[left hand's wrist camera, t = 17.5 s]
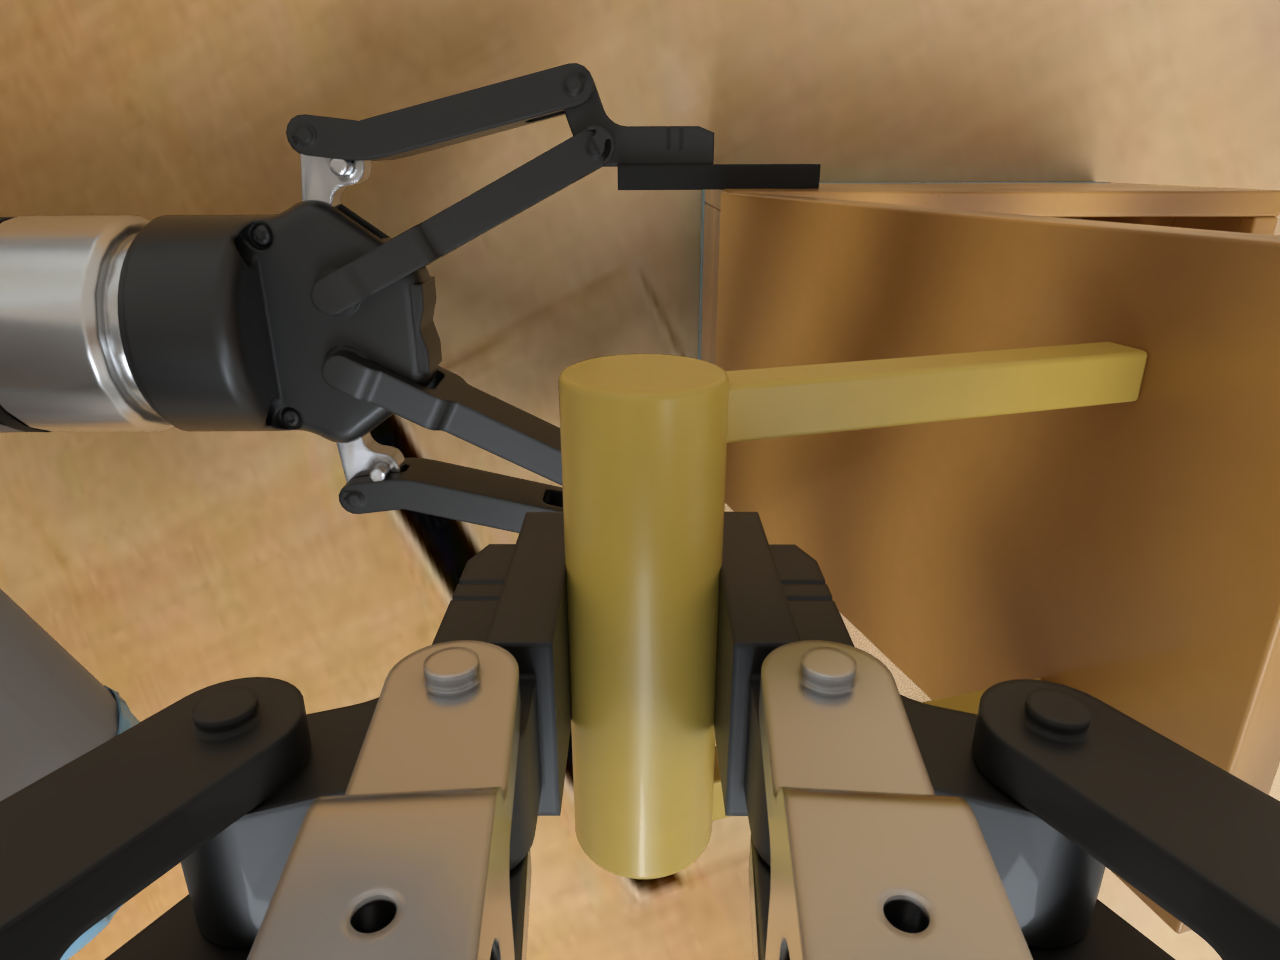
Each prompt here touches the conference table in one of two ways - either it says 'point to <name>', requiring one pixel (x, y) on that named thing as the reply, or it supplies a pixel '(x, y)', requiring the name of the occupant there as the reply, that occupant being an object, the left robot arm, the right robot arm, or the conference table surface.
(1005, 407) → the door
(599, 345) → the conference table surface
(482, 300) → the conference table surface
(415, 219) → the conference table surface
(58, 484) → the conference table surface
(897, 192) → the chest
